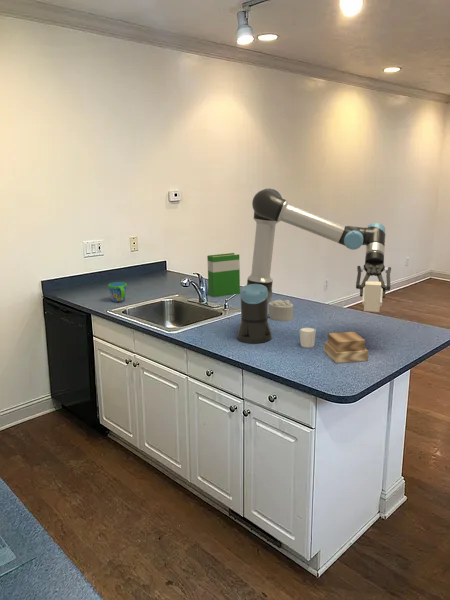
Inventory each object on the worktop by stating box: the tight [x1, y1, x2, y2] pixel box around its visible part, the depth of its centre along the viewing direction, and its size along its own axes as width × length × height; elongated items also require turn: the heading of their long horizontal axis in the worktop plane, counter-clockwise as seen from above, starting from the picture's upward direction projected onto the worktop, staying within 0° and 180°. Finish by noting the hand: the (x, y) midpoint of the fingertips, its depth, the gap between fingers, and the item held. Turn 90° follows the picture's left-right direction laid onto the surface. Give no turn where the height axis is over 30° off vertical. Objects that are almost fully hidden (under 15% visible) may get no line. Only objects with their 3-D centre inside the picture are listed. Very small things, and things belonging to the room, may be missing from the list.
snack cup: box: [107, 281, 128, 303], centre depth 290 cm, size 16×10×10 cm
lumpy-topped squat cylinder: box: [268, 299, 294, 322], centre depth 250 cm, size 10×13×9 cm
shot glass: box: [299, 327, 317, 348], centre depth 210 cm, size 7×7×7 cm
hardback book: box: [206, 252, 241, 298], centre depth 299 cm, size 18×7×24 cm, turn 117°
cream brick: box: [363, 280, 381, 313], centre depth 201 cm, size 6×6×11 cm
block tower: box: [323, 331, 369, 364], centre depth 197 cm, size 13×13×8 cm
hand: (372, 303), depth 198 cm, fingers closed on cream brick, 6 cm apart
